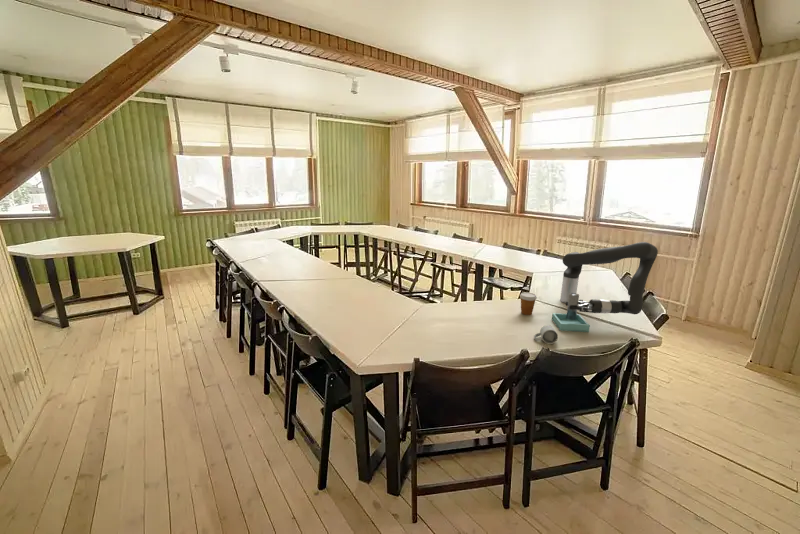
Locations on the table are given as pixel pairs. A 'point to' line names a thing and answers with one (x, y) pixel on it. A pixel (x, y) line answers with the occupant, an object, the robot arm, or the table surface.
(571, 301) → the charcoal metal canister
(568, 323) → the teal box
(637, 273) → the robot arm
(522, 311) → the disposable coffee cup
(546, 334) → the ceramic mug
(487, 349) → the table surface
